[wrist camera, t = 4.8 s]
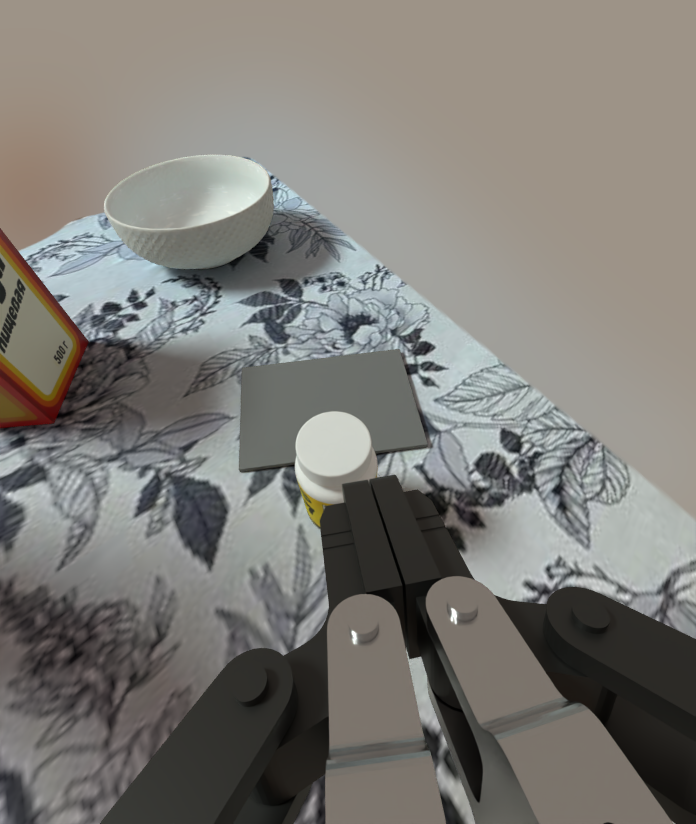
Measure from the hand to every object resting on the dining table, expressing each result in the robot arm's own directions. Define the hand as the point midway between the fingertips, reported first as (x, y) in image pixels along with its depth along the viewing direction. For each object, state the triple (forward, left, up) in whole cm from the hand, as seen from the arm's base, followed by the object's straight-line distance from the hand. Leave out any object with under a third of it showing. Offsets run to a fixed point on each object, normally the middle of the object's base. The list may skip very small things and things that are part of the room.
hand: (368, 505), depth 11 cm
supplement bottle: (-6, +3, -15) cm, 17 cm away
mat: (-13, +8, -15) cm, 21 cm away
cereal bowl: (-40, +13, -16) cm, 45 cm away
